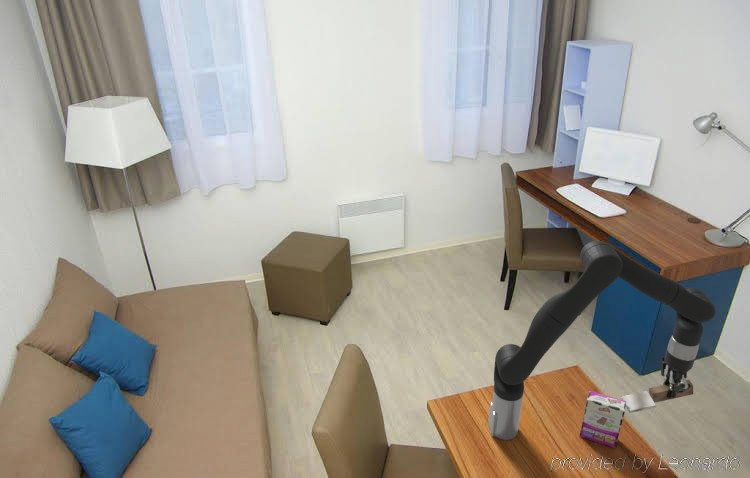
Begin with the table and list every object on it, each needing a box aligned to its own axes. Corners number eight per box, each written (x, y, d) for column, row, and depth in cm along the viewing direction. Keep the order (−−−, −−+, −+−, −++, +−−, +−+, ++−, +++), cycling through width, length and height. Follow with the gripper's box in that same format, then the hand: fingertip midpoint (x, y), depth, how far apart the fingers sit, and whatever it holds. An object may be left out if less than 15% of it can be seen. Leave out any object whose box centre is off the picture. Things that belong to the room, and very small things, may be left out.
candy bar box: (617, 437, 171) (627, 400, 163) (615, 449, 167) (625, 411, 160) (581, 425, 176) (589, 389, 168) (578, 436, 172) (587, 399, 164)
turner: (629, 413, 162) (628, 404, 161) (621, 398, 168) (620, 389, 166) (696, 398, 160) (696, 389, 158) (686, 384, 165) (685, 375, 163)
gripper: (657, 336, 161) (645, 378, 169) (681, 367, 149) (666, 411, 157) (682, 335, 161) (668, 378, 169) (707, 366, 148) (692, 411, 157)
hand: (667, 394), depth 163 cm, fingers closed on turner, 2 cm apart
